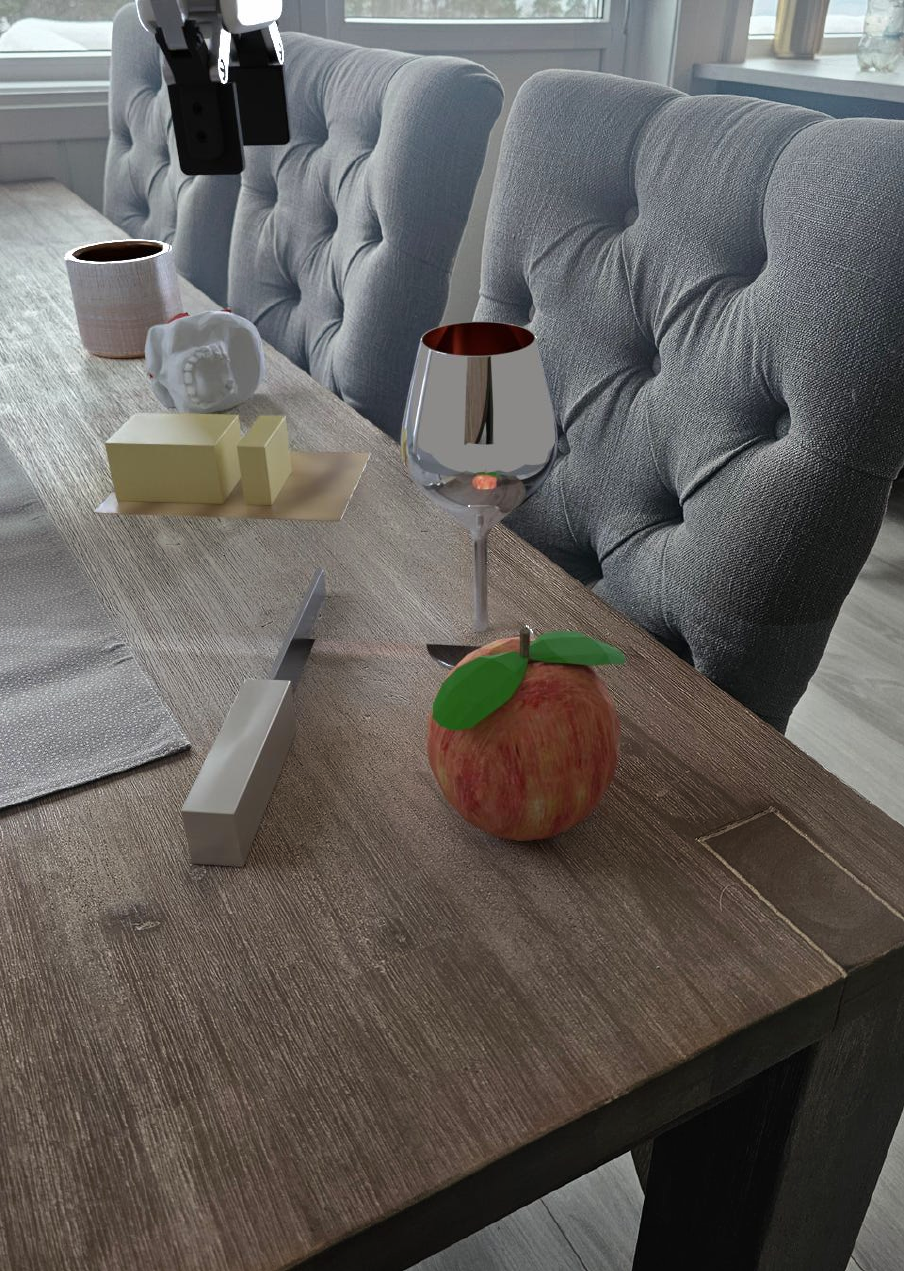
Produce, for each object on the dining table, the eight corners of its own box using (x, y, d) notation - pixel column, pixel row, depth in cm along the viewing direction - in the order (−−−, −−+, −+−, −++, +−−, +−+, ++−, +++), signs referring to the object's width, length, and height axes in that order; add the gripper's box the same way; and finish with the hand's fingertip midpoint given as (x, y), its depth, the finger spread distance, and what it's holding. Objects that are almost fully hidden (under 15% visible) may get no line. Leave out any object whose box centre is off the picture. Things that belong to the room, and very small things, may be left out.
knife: (243, 867, 47) (233, 813, 45) (191, 864, 47) (179, 810, 45) (343, 611, 65) (339, 565, 64) (305, 609, 66) (300, 564, 64)
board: (95, 527, 76) (92, 512, 75) (154, 461, 86) (151, 447, 85) (341, 536, 74) (340, 520, 73) (372, 466, 84) (371, 452, 83)
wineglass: (576, 632, 63) (591, 329, 53) (503, 700, 57) (504, 375, 47) (461, 595, 67) (456, 306, 57) (383, 655, 61) (361, 347, 51)
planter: (200, 329, 117) (186, 239, 112) (169, 361, 108) (152, 264, 102) (106, 329, 118) (88, 239, 113) (66, 360, 109) (45, 264, 104)
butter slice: (244, 504, 76) (236, 446, 73) (266, 470, 81) (259, 414, 78) (271, 505, 75) (264, 446, 73) (292, 471, 80) (285, 415, 78)
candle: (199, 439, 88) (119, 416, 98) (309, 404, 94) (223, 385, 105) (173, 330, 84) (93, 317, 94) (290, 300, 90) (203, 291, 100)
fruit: (396, 784, 51) (384, 608, 46) (568, 732, 55) (576, 561, 49) (470, 905, 45) (466, 715, 39) (661, 837, 48) (682, 653, 42)
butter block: (116, 501, 77) (104, 442, 74) (146, 467, 82) (135, 412, 79) (223, 504, 76) (214, 445, 73) (246, 470, 81) (238, 414, 78)
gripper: (170, -225, 55) (219, 136, 64) (21, -290, 40) (112, 189, 50) (311, -233, 54) (341, 134, 63) (211, -302, 40) (268, 187, 49)
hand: (240, 158), depth 56 cm, fingers open, 9 cm apart
